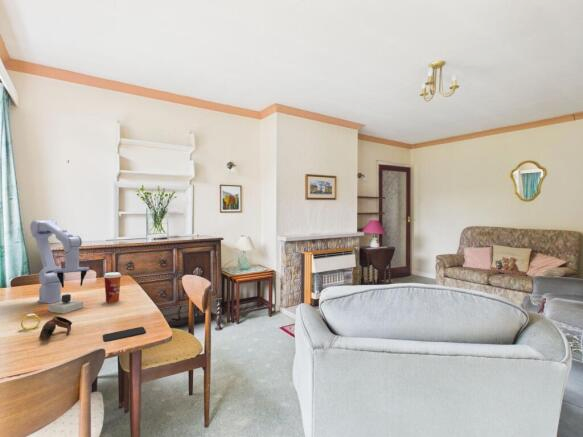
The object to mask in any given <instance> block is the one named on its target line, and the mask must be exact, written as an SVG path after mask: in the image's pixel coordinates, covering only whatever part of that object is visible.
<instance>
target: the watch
mask: <svg viewBox="0 0 583 437" xmlns="http://www.w3.org/2000/svg"><path fill="white" fill-rule="evenodd" d="M33 317H34V318H37V320H38V321H37V323H36V324H35V325H34V326H30V327H26V326H24V325H23V322H24V320H26V319H27V318H33ZM40 323H41V319H40V316H38V315H36V313H27V314H26V316H24V317H23V318H22V320H21V322H20V327H22V329H23V330H31V329H35V328H37V327H38V326H39V324H40Z"/></svg>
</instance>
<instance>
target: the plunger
mask: <svg viewBox="0 0 583 437" xmlns="http://www.w3.org/2000/svg"><path fill="white" fill-rule="evenodd" d="M61 298H62V300H61V301H62V302H65V304H68V302H69V301H71V300H72V299H71V298H72V296H71V294H69V293H67V294H61Z"/></svg>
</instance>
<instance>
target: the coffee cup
mask: <svg viewBox="0 0 583 437" xmlns="http://www.w3.org/2000/svg"><path fill="white" fill-rule="evenodd" d="M121 276H122V274H121V273H120V272H117V271H115V272H107V273H105V274H104V275H103V278H104V289H105V291H104V292H105V293H104V294H105V302H106V303H109V304H111V303H116V302H119V300H120V290H121V278H122V277H121Z"/></svg>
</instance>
